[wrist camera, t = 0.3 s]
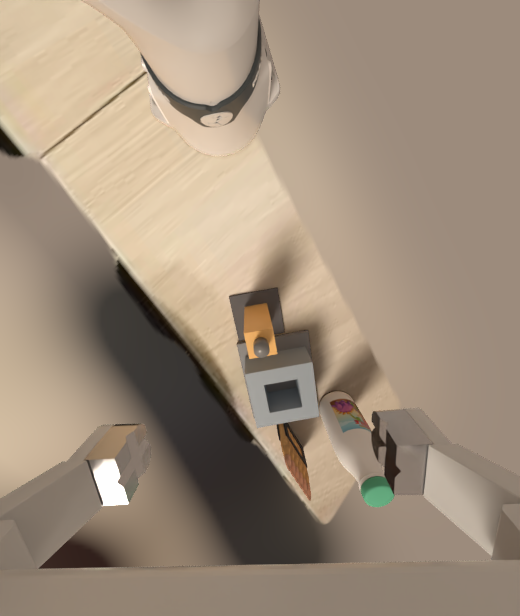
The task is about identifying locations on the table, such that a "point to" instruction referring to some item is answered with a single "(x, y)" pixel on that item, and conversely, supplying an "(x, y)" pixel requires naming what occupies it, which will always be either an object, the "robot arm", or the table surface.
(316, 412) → the housing
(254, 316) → the plug
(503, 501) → the robot arm
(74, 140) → the table surface
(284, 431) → the ammunition clip
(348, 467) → the milk bottle
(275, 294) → the mat
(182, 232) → the table surface
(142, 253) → the table surface
